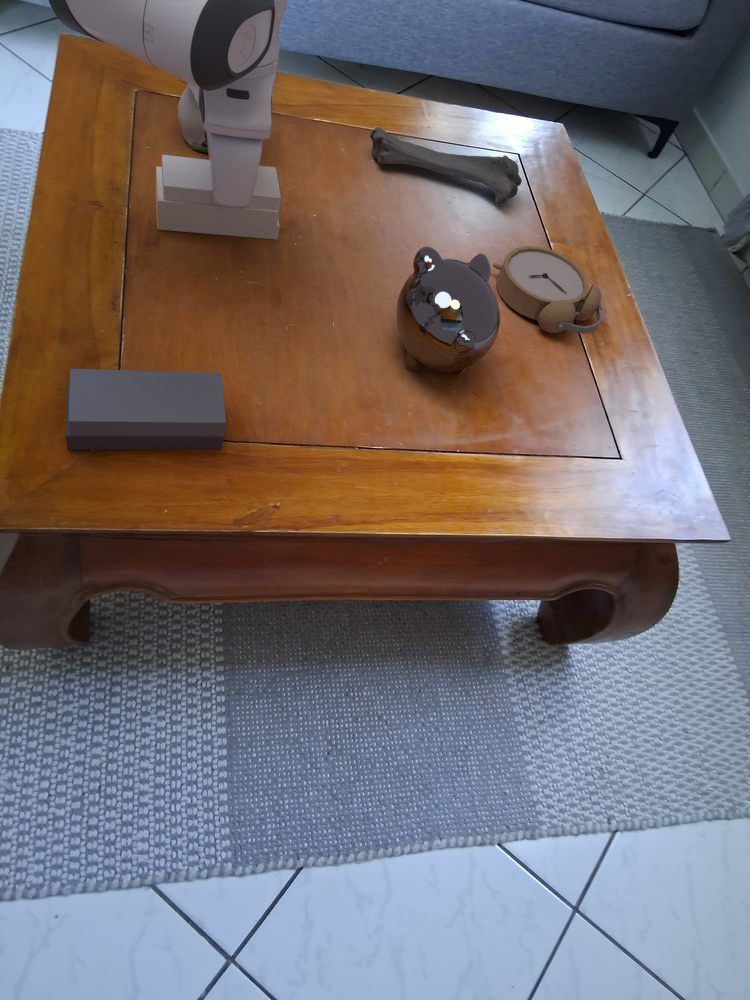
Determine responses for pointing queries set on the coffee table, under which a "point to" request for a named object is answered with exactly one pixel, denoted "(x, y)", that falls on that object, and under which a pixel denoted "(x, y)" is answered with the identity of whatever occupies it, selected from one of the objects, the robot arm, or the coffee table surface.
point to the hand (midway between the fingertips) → (220, 188)
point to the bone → (450, 164)
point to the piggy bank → (447, 312)
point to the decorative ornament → (192, 121)
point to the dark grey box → (144, 410)
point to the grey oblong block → (213, 217)
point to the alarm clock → (548, 289)
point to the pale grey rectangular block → (195, 184)
